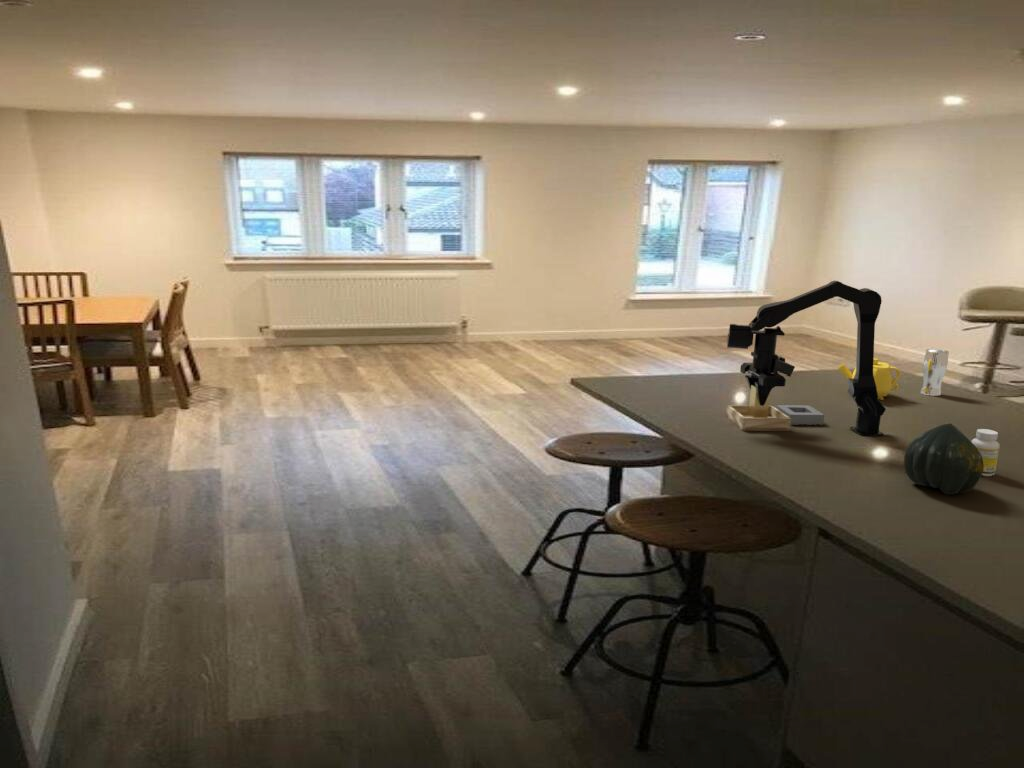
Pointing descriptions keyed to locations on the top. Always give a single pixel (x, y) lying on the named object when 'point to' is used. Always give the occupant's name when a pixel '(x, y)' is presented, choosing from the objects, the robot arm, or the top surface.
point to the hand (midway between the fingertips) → (759, 403)
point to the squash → (944, 460)
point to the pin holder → (802, 414)
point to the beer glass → (934, 371)
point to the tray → (758, 419)
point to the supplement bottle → (987, 449)
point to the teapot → (878, 377)
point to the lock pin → (757, 405)
